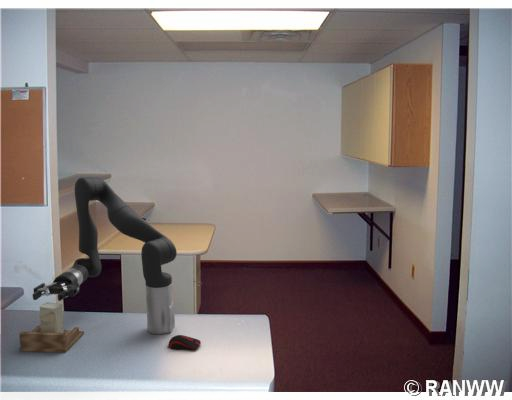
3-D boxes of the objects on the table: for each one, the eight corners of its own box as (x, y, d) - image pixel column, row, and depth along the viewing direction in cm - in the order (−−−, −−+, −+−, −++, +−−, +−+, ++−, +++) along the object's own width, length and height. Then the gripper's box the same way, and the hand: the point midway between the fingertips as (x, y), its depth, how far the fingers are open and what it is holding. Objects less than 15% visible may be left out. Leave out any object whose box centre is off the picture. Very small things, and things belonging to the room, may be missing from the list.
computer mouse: (197, 352, 164) (197, 341, 163) (165, 350, 165) (165, 339, 165) (202, 343, 170) (202, 332, 169) (171, 341, 171) (171, 330, 171)
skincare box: (40, 340, 169) (38, 306, 167) (49, 334, 174) (47, 301, 171) (56, 342, 168) (54, 308, 166) (65, 337, 172) (62, 303, 170)
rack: (84, 333, 177) (83, 317, 176) (65, 352, 163) (64, 335, 162) (40, 331, 178) (39, 316, 177) (19, 350, 164) (17, 333, 163)
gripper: (49, 271, 182) (25, 286, 166) (86, 272, 180) (66, 287, 165) (50, 290, 183) (26, 307, 167) (88, 291, 182) (67, 309, 166)
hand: (46, 297), depth 166 cm, fingers open, 8 cm apart
